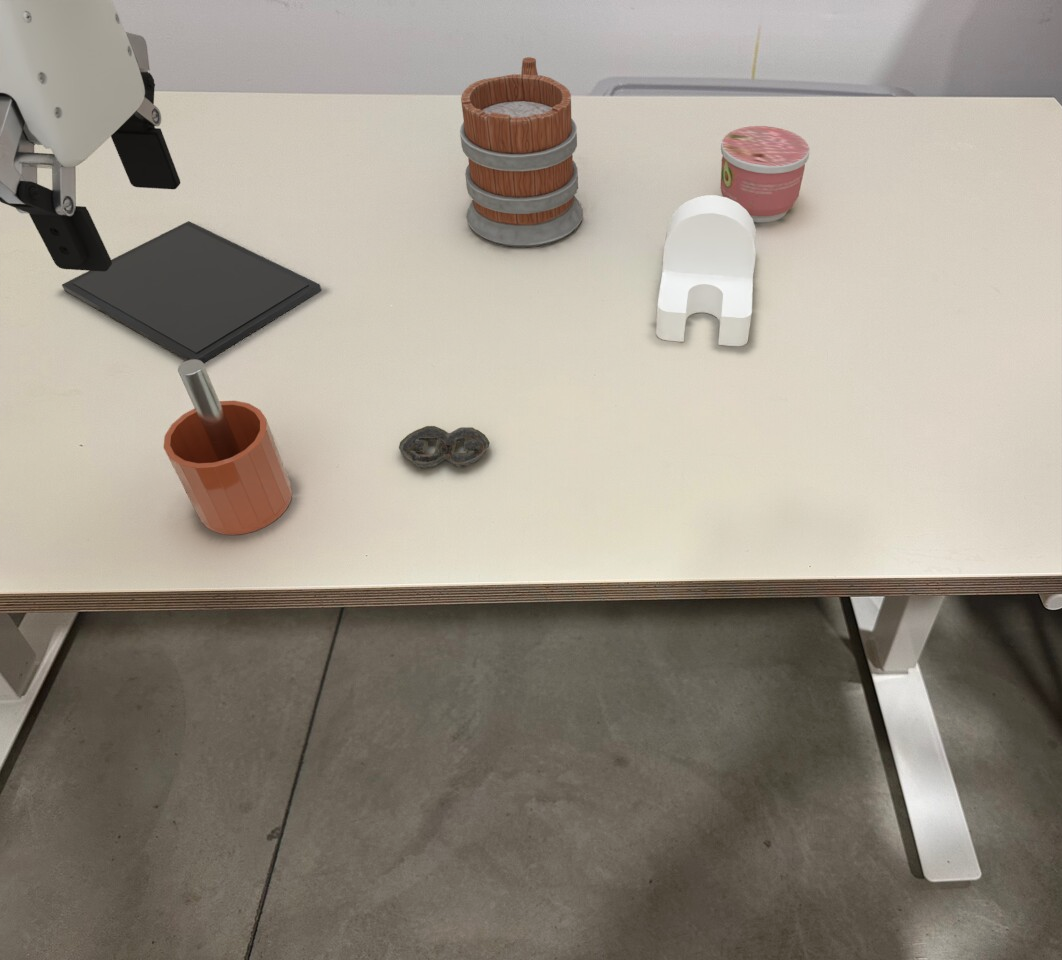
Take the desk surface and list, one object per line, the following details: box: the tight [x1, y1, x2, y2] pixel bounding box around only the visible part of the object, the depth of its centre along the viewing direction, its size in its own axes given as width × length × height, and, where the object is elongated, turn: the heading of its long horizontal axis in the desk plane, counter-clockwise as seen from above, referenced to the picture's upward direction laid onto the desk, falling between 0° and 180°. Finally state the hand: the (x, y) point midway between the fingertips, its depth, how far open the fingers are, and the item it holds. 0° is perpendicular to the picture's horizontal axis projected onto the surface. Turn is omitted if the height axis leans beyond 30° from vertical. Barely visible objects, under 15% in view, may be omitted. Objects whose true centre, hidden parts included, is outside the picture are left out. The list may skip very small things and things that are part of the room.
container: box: [719, 125, 810, 223], centre depth 109 cm, size 10×10×8 cm
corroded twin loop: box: [398, 425, 490, 469], centre depth 80 cm, size 5×8×1 cm, turn 91°
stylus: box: [177, 359, 241, 461], centre depth 70 cm, size 2×2×14 cm
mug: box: [459, 56, 584, 248], centre depth 105 cm, size 14×19×15 cm
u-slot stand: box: [655, 194, 757, 347], centre depth 95 cm, size 10×18×11 cm, turn 174°
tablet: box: [61, 220, 322, 364], centre depth 96 cm, size 16×22×1 cm
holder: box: [163, 400, 293, 536], centre depth 73 cm, size 8×8×8 cm
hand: (123, 224), depth 57 cm, fingers open, 9 cm apart
